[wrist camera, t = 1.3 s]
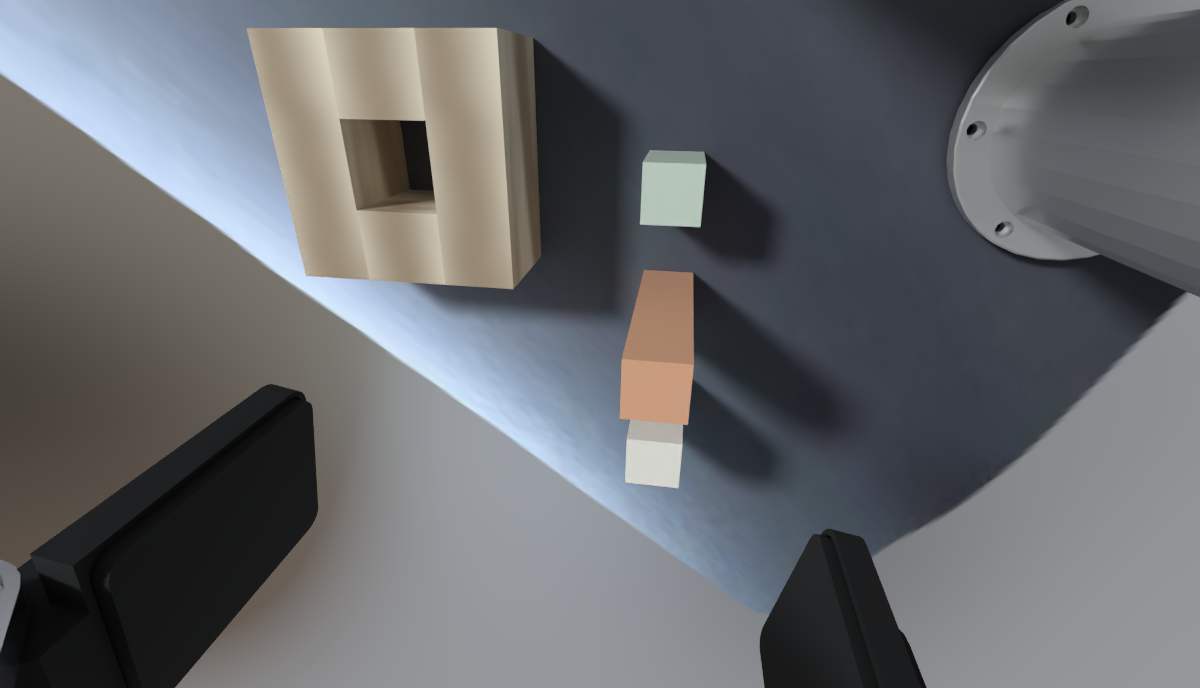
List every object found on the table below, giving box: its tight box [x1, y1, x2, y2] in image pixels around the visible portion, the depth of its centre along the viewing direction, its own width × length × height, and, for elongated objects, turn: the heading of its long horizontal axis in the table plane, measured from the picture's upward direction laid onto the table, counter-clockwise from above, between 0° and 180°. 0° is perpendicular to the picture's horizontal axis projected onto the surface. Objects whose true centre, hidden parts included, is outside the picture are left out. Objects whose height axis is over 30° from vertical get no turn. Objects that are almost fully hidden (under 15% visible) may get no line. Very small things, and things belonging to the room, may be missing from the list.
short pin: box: [640, 150, 706, 227], centre depth 29 cm, size 3×3×5 cm
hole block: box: [247, 28, 541, 289], centre depth 29 cm, size 12×12×6 cm
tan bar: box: [620, 270, 694, 425], centre depth 28 cm, size 3×3×12 cm
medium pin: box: [625, 420, 683, 488], centre depth 33 cm, size 3×3×8 cm
